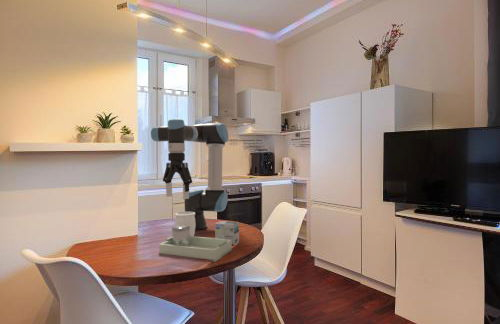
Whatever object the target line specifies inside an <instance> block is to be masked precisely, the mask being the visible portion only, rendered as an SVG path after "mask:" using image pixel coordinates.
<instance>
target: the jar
mask: <svg viewBox="0 0 500 324" xmlns="http://www.w3.org/2000/svg"><path fill="white" fill-rule="evenodd" d="M194 215H195V212H185V211H179V212H178V211H177V212H175V214H174V216H175V220H174V221H175V222H174V227H175V226H189V227H190V236H195V231H196V230H195V226H196V223H195V217H194Z"/></svg>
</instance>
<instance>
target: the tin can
mask: <svg viewBox="0 0 500 324" xmlns="http://www.w3.org/2000/svg"><path fill="white" fill-rule="evenodd" d="M171 233H172V235H171V237H172V245H178V246H187V247H190V227H189V226H175V225H174V226H172V227H171Z"/></svg>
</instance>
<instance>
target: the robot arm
mask: <svg viewBox="0 0 500 324" xmlns="http://www.w3.org/2000/svg"><path fill="white" fill-rule="evenodd" d="M150 138H151V139H152V141H154V142H159V143H160V142H167V143H168V144H167V145H168V146H167V147H168V148H167V151H168V153H167V154H168V155H167V156H168V157H167V159H168V162H166V165H165V169H164V170H165V171H164V175H163V178H162V182H164V183H165V192H166V193H165V196H166V198H169V197H173V183H172V181H173V178H174V176H175V174H176V173H177V174H179V177H180V178H181V181H182V199H183V201H184V212H195V215H194V217H195V223H196V226H195V231H197V230H199V231H200V230H202V229H203V230H204V229H206V228H207V226H208V225H207V221H206V220H207V219H206V218H205V215H204V214H205V213H204V212H215V213H217V212H219V213H220V212H223V211H224V210H225V209H226V207H227V206H228V205H227V204H228V199H229V198H228V197H229V196H228V193H227V192H225V189H224V187H223V148H224V147H225V146H226V143H227V142H228V141H229V131H228V127H227V126H226V125H225V124H224V123H220V122H219V123H217V122H216V123H199V124H194V125H185V120H184V119H181V118H172V119H169V120H168V121H167V126H166V125H165V126H154V127H152V129H151V130H150ZM185 142H194V143H195V142H196V143H205V145H206V146H207V148H208V152H207V153H208V160H207V161H208V162H207V163H208V165H207V187H206V188H205V190H204V189H196V190H190V184H193V180H192V176H191V173H190V170H189V164H188V162H185V159H186V155H185V154H186V153H185V151H186V147H185V146H186V145H185ZM169 161H170V162H169ZM204 191H205V192H204Z"/></svg>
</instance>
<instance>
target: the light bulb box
mask: <svg viewBox="0 0 500 324" xmlns="http://www.w3.org/2000/svg"><path fill="white" fill-rule="evenodd" d="M239 223H240V222H239V221H225V220H224V221H222V220H219V221H218V222H215V223H214V234H215V235H214V236H215V237H214V238H216V239H227V240H232V247H235V246H236V245H238V244H239V243H240V224H239Z"/></svg>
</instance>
